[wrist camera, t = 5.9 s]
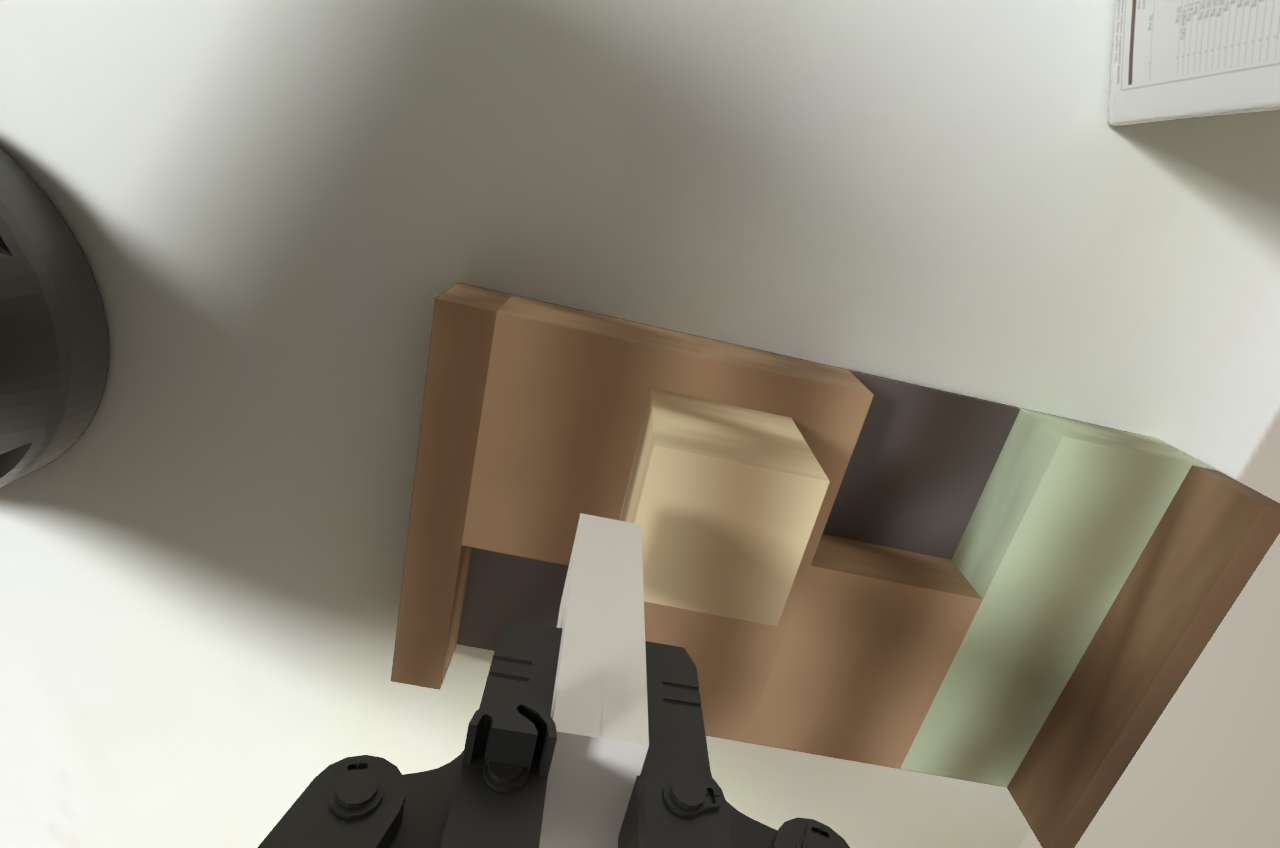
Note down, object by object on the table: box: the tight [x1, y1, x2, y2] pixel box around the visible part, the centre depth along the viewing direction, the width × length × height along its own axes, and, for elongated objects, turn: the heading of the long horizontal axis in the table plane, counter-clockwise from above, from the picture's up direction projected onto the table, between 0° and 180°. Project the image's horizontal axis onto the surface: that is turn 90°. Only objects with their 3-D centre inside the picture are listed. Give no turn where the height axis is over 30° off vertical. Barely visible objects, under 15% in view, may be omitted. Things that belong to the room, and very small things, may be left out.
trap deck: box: [391, 283, 1280, 848], centre depth 26 cm, size 28×16×6 cm, turn 77°
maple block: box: [620, 388, 830, 626], centre depth 22 cm, size 5×5×5 cm
